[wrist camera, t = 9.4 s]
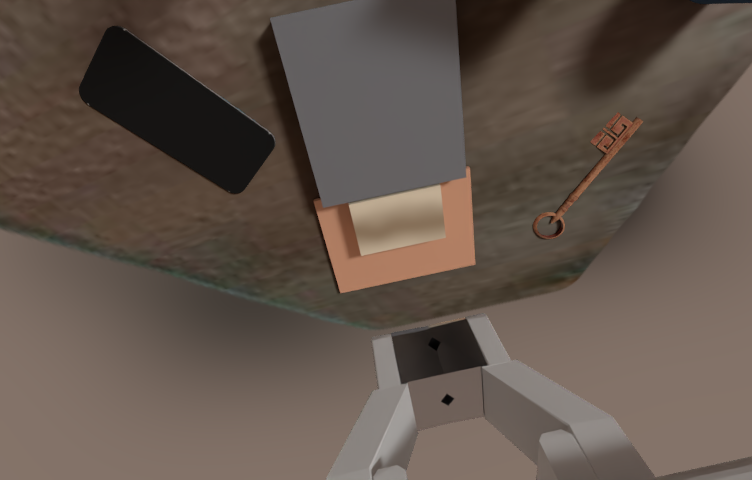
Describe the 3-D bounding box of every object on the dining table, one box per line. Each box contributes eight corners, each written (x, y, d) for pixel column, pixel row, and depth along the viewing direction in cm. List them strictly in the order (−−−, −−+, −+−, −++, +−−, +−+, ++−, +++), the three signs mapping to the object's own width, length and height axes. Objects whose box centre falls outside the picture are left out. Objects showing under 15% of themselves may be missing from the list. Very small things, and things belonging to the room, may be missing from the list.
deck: (273, 17, 31) (269, 18, 29) (445, -19, 31) (454, -22, 29) (323, 197, 39) (323, 207, 37) (458, 168, 39) (466, 177, 37)
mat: (313, 199, 39) (313, 201, 39) (468, 166, 39) (470, 168, 39) (340, 290, 45) (340, 293, 45) (473, 262, 45) (475, 264, 45)
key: (609, 98, 38) (512, 219, 44) (615, 100, 37) (515, 223, 43) (649, 128, 40) (550, 242, 45) (656, 130, 39) (554, 245, 45)
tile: (347, 196, 39) (348, 205, 37) (435, 177, 39) (440, 185, 37) (359, 245, 42) (361, 256, 40) (440, 228, 42) (445, 237, 40)
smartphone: (110, 18, 30) (279, 139, 35) (115, 18, 30) (280, 137, 36) (74, 97, 32) (238, 198, 38) (78, 95, 33) (239, 195, 38)
